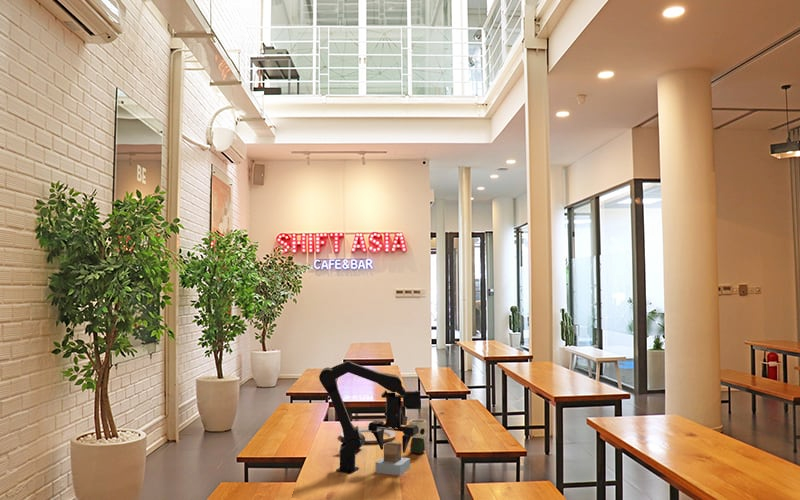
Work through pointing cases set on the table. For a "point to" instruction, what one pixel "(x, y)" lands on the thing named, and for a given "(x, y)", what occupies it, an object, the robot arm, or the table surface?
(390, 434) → the plate
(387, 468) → the slate block
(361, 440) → the end cap
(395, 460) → the walnut block
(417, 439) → the character mug
